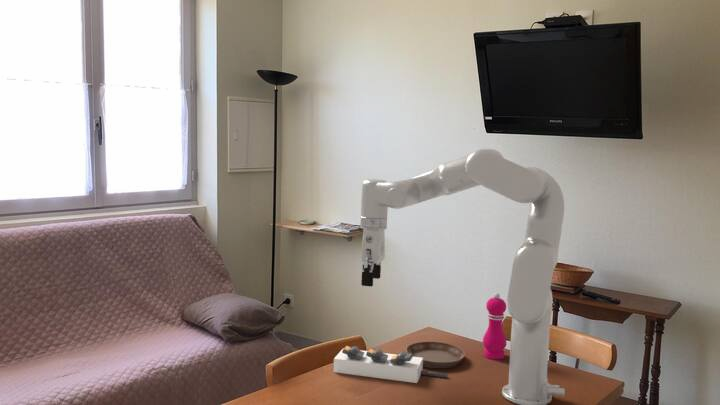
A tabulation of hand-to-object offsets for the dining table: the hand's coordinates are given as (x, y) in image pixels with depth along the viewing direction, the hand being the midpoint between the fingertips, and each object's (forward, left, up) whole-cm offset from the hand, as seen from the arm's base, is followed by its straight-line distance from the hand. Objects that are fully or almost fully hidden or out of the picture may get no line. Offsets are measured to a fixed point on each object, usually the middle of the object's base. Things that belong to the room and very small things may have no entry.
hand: (371, 281), depth 176 cm
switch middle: (-3, +5, -21) cm, 22 cm away
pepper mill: (-35, -21, -26) cm, 48 cm away
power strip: (-7, +3, -25) cm, 26 cm away
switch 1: (+4, +5, -21) cm, 22 cm away
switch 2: (-11, +5, -21) cm, 24 cm away
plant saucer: (-18, -12, -26) cm, 34 cm away
